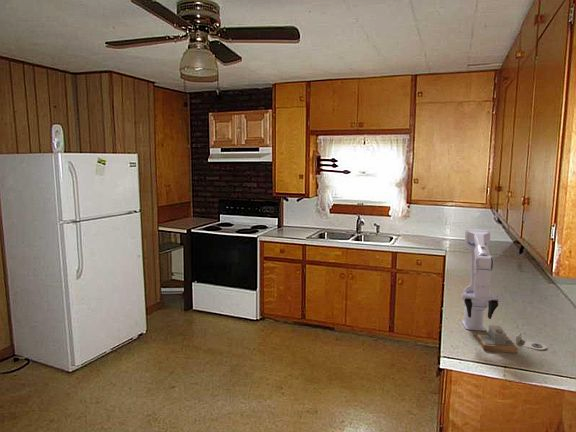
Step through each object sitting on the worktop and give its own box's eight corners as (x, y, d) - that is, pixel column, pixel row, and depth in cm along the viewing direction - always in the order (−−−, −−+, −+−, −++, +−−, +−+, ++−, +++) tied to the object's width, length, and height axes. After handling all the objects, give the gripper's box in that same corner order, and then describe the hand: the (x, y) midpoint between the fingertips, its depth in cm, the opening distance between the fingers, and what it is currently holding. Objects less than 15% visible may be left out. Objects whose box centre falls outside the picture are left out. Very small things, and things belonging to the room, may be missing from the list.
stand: (476, 339, 169) (477, 333, 169) (507, 341, 167) (508, 336, 167) (483, 350, 160) (484, 344, 159) (517, 353, 158) (517, 347, 157)
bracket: (544, 353, 159) (545, 344, 158) (515, 344, 165) (516, 336, 165) (548, 347, 163) (548, 339, 163) (519, 339, 170) (520, 331, 170)
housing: (488, 335, 167) (489, 324, 167) (498, 336, 167) (499, 324, 166) (494, 344, 159) (495, 332, 159) (505, 345, 159) (506, 333, 158)
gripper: (465, 287, 162) (462, 319, 164) (504, 289, 160) (501, 322, 162) (461, 281, 169) (458, 313, 171) (498, 283, 167) (495, 315, 169)
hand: (479, 317), depth 167 cm, fingers open, 7 cm apart
